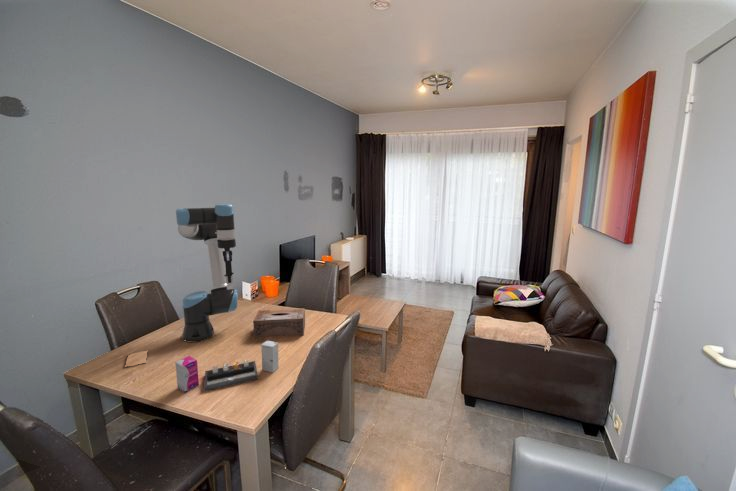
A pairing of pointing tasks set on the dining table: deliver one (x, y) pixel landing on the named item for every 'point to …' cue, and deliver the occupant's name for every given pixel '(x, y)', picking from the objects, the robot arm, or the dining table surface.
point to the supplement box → (187, 373)
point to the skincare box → (270, 356)
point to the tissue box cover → (279, 323)
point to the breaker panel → (230, 375)
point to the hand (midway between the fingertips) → (230, 288)
